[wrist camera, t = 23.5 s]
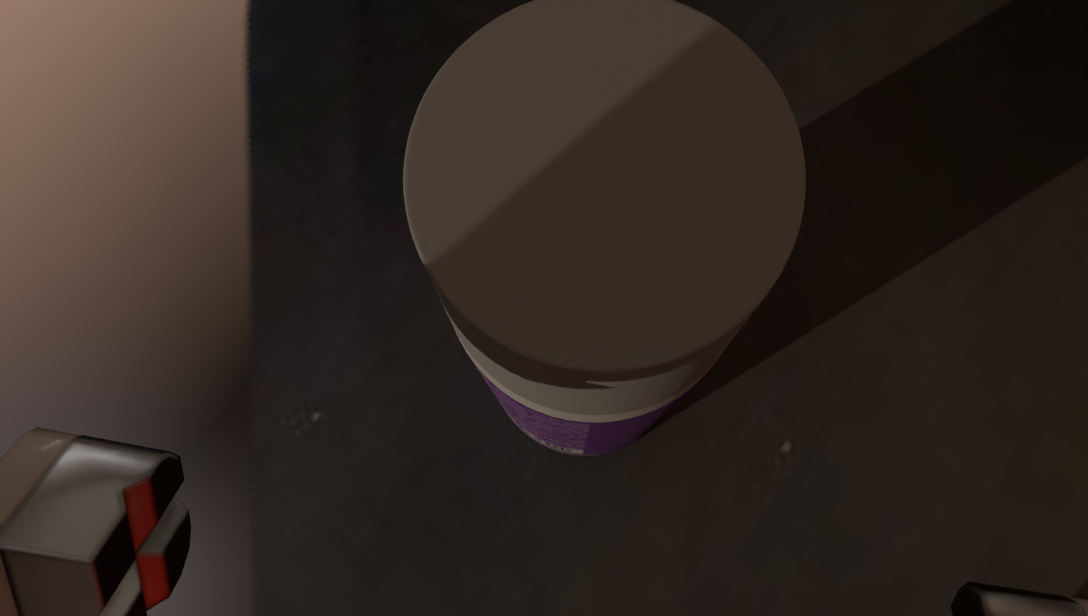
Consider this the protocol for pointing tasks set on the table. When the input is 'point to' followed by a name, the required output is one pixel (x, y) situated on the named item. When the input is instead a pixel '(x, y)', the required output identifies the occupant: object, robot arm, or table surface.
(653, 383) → the container
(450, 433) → the table surface
